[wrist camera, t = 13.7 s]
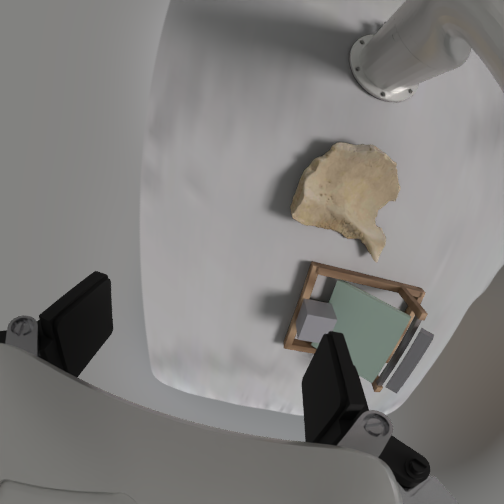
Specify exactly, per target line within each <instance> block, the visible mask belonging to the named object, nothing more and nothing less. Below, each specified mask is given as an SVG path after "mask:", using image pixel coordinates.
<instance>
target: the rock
mask: <svg viewBox="0 0 504 504" xmlns="http://www.w3.org/2000/svg"><path fill="white" fill-rule="evenodd" d="M396 165H397V164H396V162H394V161H392V160H391V158H390V157H389V156H387V155H386V153H384V152H382V151H381V150H380V149H379V148H377V147H376V146H374V145H364V144H361V145H353V144H348V143H342V142H338V143H336V144H334V145H332V147H331V148H330V150H329V151H328V152H326V153H325V155H323V156H320V157H318V158H315V159H314V160H313V161H312V162H311V164H310V165H309V166H308V167H307V168H306V169H305V170H304V172H303V174H302V176H301V178H300V180H299V184H298V187H297V189H296V192H295V195H294V196H293V202H292V204H291V206H290V208H291V214H292V217H293V219H295V220H297V221H298V222H300V223H301V224H304V225H307V226H308V225H311V226H316V227H318V228H319V227H321V228H324V229H332V230H335V231H337V232H339V233H341V234H343V235H344V237H346V238H347V239H355V238H358V239H360V240H361V241H362V243H364V245H366V248H367V250H368V252H369V253H370V254H371V256H372V258H373V260H374V261H375V262H377V261H378V258H379V256H380V254H381V251H382V249H383V248H384V246H385V242H386V237H385V235H384V233H383V231H382V228H380V227H377V226H376V224H375V217H377V212H378V210H379V209H381V208H382V207H383V206H385V205H386V204H387V203H388V202H389V201H396V198H397V195H398V193H399V191H400V185H399V183H398V176H397V169H396ZM355 240H356V239H355Z"/></svg>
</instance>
